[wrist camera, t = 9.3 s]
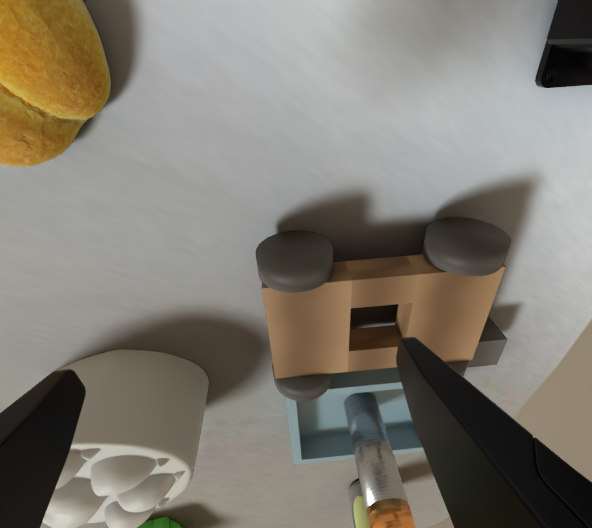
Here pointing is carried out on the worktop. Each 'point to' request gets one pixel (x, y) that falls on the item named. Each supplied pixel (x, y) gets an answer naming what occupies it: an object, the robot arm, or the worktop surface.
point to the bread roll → (47, 77)
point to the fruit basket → (160, 523)
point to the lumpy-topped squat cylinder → (130, 438)
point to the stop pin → (376, 464)
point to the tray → (333, 423)
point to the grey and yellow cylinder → (357, 506)
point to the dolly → (380, 303)
